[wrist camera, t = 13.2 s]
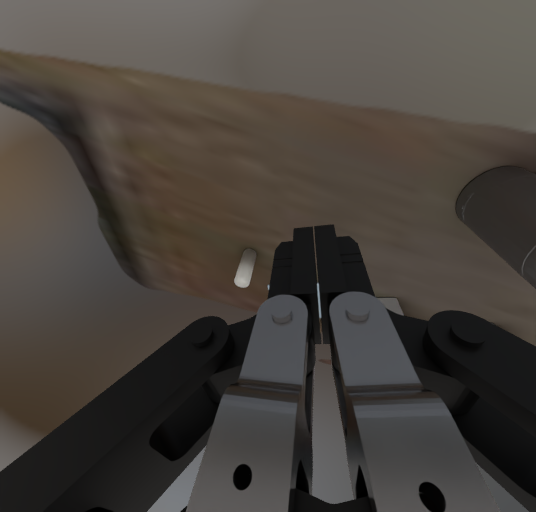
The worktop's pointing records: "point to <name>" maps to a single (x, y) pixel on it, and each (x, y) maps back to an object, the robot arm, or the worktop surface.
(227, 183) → the worktop surface
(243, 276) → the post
